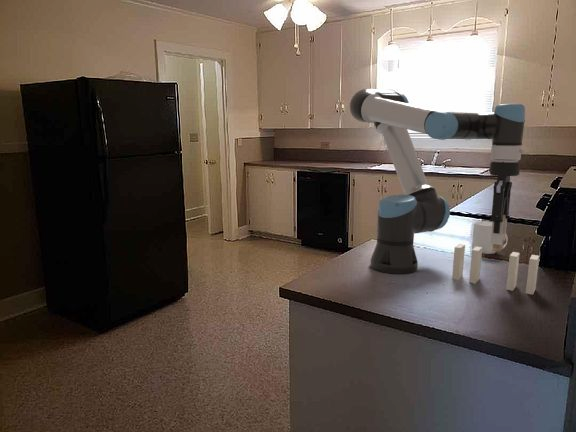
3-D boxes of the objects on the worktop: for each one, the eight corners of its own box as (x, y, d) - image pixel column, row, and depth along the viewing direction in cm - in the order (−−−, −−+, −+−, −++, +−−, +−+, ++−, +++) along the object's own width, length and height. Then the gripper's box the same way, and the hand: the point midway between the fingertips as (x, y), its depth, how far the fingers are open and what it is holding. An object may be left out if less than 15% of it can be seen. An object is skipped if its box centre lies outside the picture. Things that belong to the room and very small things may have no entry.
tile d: (525, 293, 121) (529, 258, 119) (528, 288, 125) (532, 254, 123) (532, 294, 120) (537, 259, 118) (535, 289, 124) (539, 255, 122)
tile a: (452, 278, 132) (454, 247, 130) (456, 274, 136) (459, 243, 134) (458, 280, 131) (460, 248, 129) (462, 275, 135) (465, 244, 133)
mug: (503, 257, 156) (506, 228, 154) (468, 251, 163) (471, 223, 161) (508, 252, 162) (511, 224, 160) (475, 247, 170) (477, 220, 168)
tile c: (506, 289, 124) (509, 255, 122) (509, 284, 128) (512, 251, 126) (513, 290, 123) (516, 256, 121) (516, 285, 127) (519, 252, 125)
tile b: (469, 282, 130) (472, 249, 128) (473, 277, 134) (476, 246, 132) (475, 283, 129) (478, 250, 127) (479, 279, 132) (482, 247, 131)
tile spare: (492, 251, 124) (495, 216, 123) (495, 247, 128) (498, 214, 127) (499, 251, 123) (502, 217, 122) (502, 248, 127) (505, 214, 126)
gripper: (514, 163, 112) (506, 250, 116) (525, 160, 126) (517, 238, 131) (483, 162, 116) (476, 246, 120) (497, 159, 131) (490, 234, 135)
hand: (497, 242), depth 125 cm, fingers closed on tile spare, 5 cm apart
